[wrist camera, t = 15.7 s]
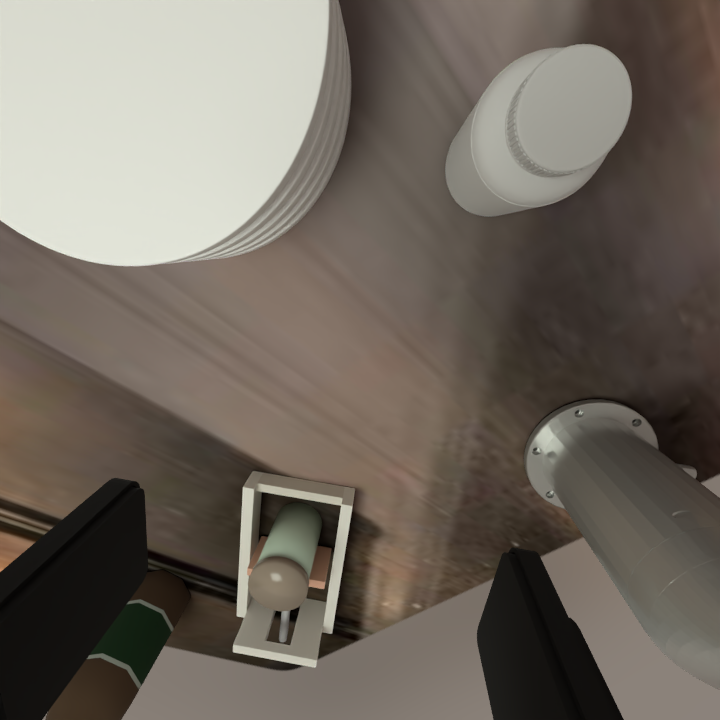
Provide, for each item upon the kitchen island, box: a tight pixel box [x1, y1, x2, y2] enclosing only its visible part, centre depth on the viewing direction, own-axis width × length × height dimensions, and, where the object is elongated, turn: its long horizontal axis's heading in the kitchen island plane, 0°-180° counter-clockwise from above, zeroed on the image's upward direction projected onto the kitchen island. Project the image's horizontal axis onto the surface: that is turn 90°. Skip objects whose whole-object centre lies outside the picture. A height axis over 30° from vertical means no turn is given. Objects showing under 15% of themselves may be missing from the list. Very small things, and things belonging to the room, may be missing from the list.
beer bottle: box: [46, 570, 190, 720], centre depth 38 cm, size 8×8×24 cm
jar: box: [248, 503, 322, 611], centre depth 40 cm, size 6×6×9 cm
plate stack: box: [0, 0, 351, 266], centre depth 26 cm, size 28×28×12 cm
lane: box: [233, 471, 355, 667], centre depth 42 cm, size 12×19×7 cm, turn 172°
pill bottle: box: [445, 44, 632, 217], centre depth 24 cm, size 8×8×15 cm
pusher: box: [247, 536, 332, 642], centre depth 45 cm, size 9×13×5 cm, turn 172°
